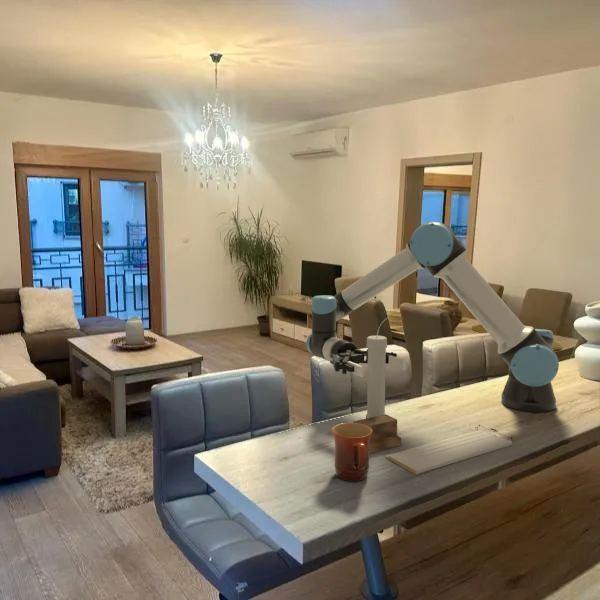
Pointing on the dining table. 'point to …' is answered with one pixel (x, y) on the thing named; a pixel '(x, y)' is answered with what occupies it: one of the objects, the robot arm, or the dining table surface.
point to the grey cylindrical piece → (376, 375)
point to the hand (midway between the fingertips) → (384, 368)
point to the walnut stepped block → (382, 432)
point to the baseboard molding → (448, 451)
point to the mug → (351, 450)
